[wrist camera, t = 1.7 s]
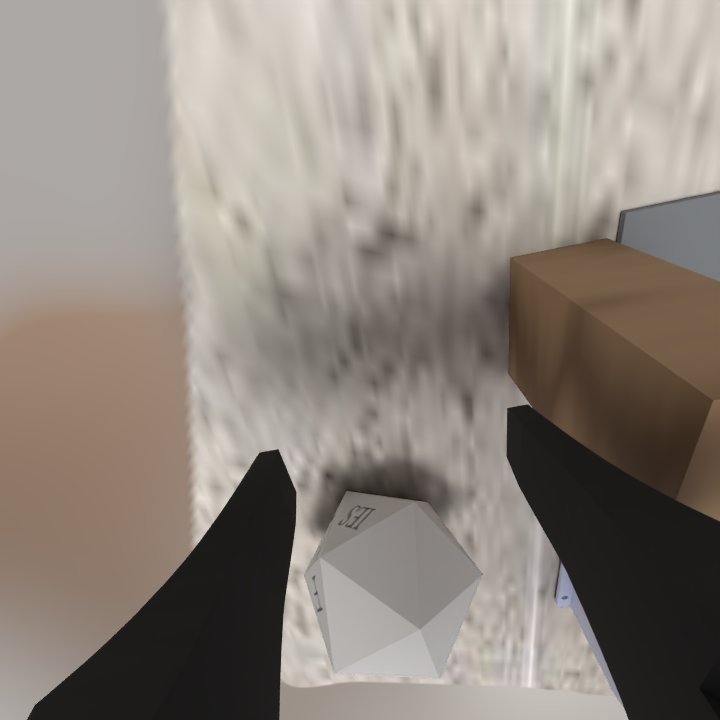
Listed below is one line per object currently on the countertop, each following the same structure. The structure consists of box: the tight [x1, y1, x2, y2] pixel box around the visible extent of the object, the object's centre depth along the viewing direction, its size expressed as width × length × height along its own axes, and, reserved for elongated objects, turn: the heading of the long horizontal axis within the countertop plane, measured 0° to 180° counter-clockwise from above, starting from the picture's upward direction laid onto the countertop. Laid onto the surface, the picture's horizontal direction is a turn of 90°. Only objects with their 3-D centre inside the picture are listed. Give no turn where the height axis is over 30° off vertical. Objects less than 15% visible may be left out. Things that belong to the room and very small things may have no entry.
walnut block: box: [509, 239, 720, 521], centre depth 13 cm, size 6×4×10 cm, turn 11°
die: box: [304, 491, 483, 679], centre depth 21 cm, size 8×9×10 cm
